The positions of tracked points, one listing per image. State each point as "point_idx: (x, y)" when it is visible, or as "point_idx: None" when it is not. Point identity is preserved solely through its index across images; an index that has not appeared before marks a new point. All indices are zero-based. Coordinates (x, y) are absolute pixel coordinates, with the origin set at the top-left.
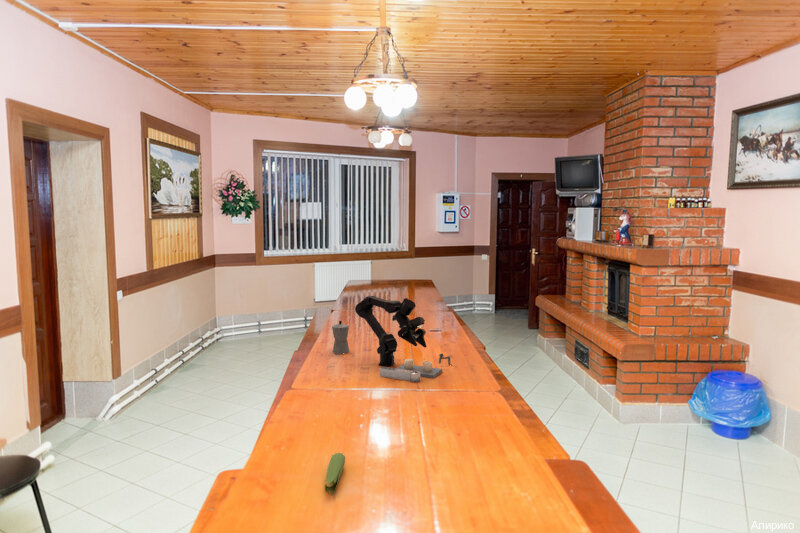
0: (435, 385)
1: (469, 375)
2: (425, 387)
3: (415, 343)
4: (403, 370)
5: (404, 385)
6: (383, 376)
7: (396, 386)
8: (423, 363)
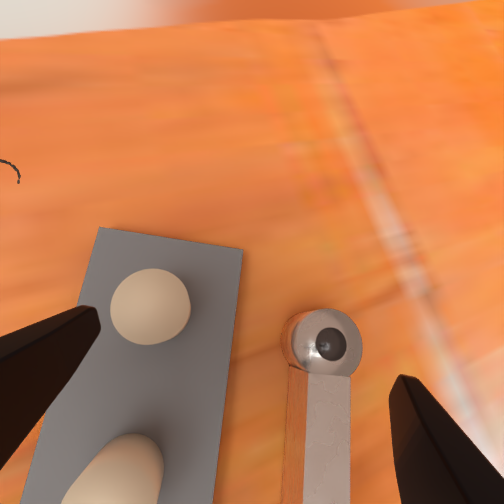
0: (334, 223)
1: (139, 96)
2: (376, 261)
3: (440, 419)
4: (324, 448)
5: (396, 373)
6: None
7: None
8: (177, 332)
